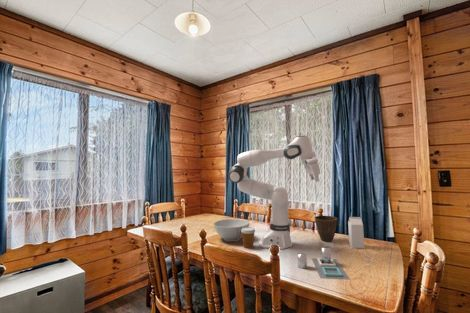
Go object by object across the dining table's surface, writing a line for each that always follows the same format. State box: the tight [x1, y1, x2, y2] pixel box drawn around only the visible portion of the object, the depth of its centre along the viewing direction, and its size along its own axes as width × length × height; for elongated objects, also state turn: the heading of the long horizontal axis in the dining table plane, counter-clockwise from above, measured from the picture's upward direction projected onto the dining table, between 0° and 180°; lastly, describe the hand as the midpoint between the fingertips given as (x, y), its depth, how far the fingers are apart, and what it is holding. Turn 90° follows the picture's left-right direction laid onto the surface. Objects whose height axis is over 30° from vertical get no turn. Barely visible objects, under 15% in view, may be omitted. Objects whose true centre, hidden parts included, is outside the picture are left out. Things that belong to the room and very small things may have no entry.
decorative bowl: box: [213, 218, 250, 242], centre depth 173 cm, size 27×27×12 cm
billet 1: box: [296, 252, 308, 270], centre depth 119 cm, size 4×4×8 cm
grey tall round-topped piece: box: [320, 246, 332, 264], centre depth 122 cm, size 4×4×8 cm
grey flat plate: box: [311, 258, 351, 283], centre depth 117 cm, size 13×23×2 cm, turn 171°
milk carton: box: [347, 216, 365, 249], centre depth 151 cm, size 7×7×19 cm
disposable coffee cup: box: [241, 226, 256, 249], centre depth 155 cm, size 10×10×12 cm
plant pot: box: [314, 215, 338, 243], centre depth 164 cm, size 15×15×16 cm
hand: (315, 180), depth 147 cm, fingers open, 8 cm apart
